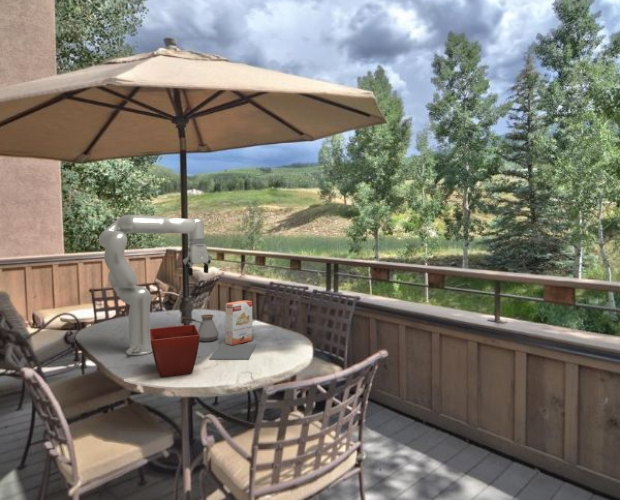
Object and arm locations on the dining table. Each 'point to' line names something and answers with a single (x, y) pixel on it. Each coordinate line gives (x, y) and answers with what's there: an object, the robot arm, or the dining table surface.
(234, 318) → the cracker box
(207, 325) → the coffee pot
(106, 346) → the dining table surface
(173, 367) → the plant pot
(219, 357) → the mat
